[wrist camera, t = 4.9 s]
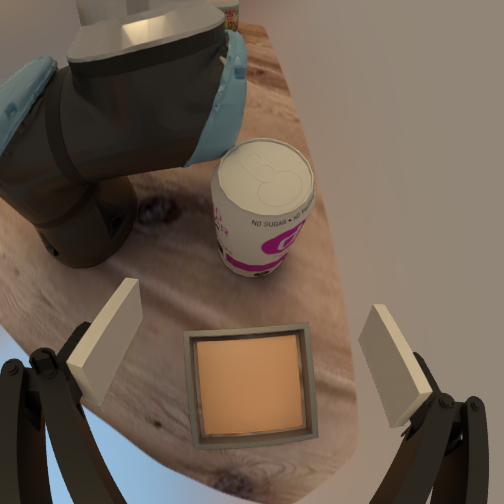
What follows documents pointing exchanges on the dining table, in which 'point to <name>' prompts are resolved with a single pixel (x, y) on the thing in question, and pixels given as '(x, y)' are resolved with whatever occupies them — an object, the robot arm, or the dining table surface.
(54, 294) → the dining table surface
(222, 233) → the supplement can
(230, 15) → the milk bottle
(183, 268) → the dining table surface
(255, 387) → the tray
